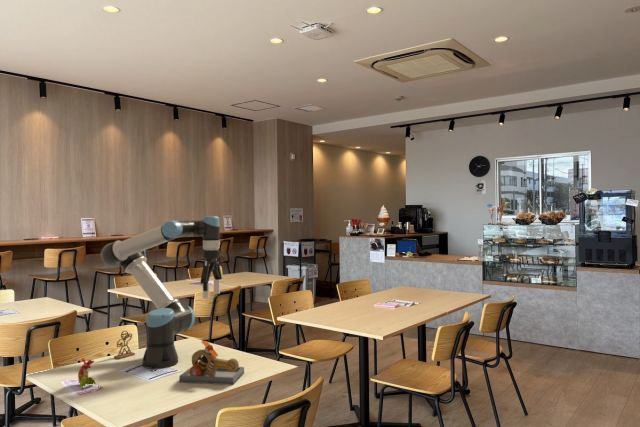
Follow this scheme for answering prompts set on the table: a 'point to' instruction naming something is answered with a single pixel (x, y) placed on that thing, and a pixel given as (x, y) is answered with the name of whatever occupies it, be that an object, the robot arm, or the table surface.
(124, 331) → the wire human figurine
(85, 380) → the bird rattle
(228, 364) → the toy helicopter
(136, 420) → the table surface
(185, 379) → the gray tray
